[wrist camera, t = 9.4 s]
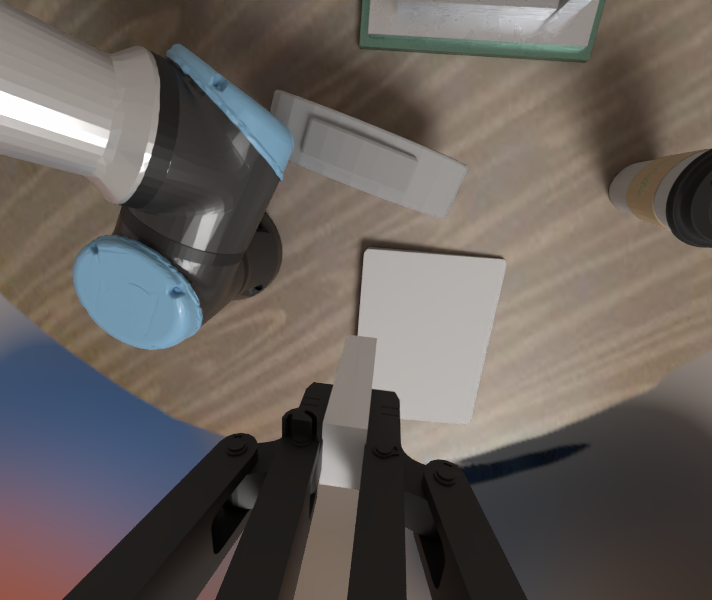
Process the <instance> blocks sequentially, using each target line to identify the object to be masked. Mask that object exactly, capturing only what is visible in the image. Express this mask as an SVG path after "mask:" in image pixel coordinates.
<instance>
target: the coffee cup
mask: <svg viewBox="0 0 712 600" xmlns="http://www.w3.org/2000/svg"><path fill="white" fill-rule="evenodd" d="M609 197H610V200H611V202H612V203H613V205H614V206H615V207H617V208H618V209H620V210H622V211H625V212H627V213H629V214H632V215H634V216H636V217H637V218H639V219H641V220H643V221H645V222H648V223H650V224H653V225H655V226H658V227H660V228H663V229H665V230H668V231H670V232H672V233H673V234H674V235H675V236H676V237H677V238H678V239H679V240H681V241H682V242H684V243H686V244H689V245H692V246H696V247H704V248H705V247H708V248H712V149H704V150H699V151H693V152H687V153H682V154H676V155H670V156H665V157H661V158H658V159H656V160H650V161H644V162H639V163H635V164H632V165H629V166H627V167H626V168H624V169H623V170H622V171H620V172H619V173H618V174H617V176H616V177H615V178H614V179H613V181H612V183H611V185H610V188H609Z"/></svg>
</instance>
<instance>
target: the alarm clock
mask: <svg viewBox="0 0 712 600" xmlns="http://www.w3.org/2000/svg"><path fill="white" fill-rule="evenodd" d="M270 113H272V114H273V115H274V116H275V117H277V118H278V119H279V120H280V121H282V122H283V123H284V124H285V125H286V126H287V127H288V128H289V130H290V131H291V133H292V136H293V141H294V147H293V151H292V154H291V156H290V158H289V161H290V162H293V163H295V164H297V165H300V166H302V167H304V168H307V169H309V170H312V171H314V172H317V173H319V174H321V175H324V176H326V177H329V178H331V179H334V180H336V181H339V182H341V183H344V184H346V185H349V186H351V187H354V188H356V189H359V190H362V191H364V192H367V193H369V194H372V195H375V196H377V197H380V198H383V199H385V200H388V201H391V202H393V203H396V204H399V205H401V206H404V207H407V208H410V209H413V210H416V211H418V212H421V213H424V214H427V215H430V216H434V217H437V218H441V219H445V218H446V216H447V214H448V212H449V209H450V207H451V205H452V203H453V201H454V198H455V196H456V194H457V192H458V190H459V188H460V185H461V183H462V181H463V179H464V177H465V175H466V172H467V170H468V167H467V166H466V165H465V164H463V163H461V162H459V161H457V160H455V159H453V158H450V157H448V156H446V155H444V154H442V153H439V152H437V151H435V150H432V149H430V148H428V147H425V146H423V145H421V144H418V143H416V142H413V141H411V140H409V139H406V138H404V137H402V136H399V135H397V134H394V133H392V132H389V131H387V130H384V129H382V128H379V127H377V126H375V125H372V124H370V123H367V122H365V121H362V120H359V119H357V118H354V117H352V116H349V115H347V114H344V113H342V112H339V111H336V110H334V109H331V108H329V107H326V106H323V105H321V104H318V103H316V102H313V101H310V100H307V99H305V98H302V97H299V96H296V95H293V94H290V93H287V92H284V91H281V90H275V92H274V96H273V100H272V105H271V109H270Z"/></svg>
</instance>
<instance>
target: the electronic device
mask: <svg viewBox="0 0 712 600" xmlns="http://www.w3.org/2000/svg"><path fill="white" fill-rule="evenodd" d="M505 269H506V262H505V260H504V259H500V258H489V257H478V256H467V255H456V254H445V253H433V252H422V251H411V250H400V249H389V248H378V247H368V248H367V249H366V250H365V253H364V260H363V273H362V285H361V298H360V311H359V324H358V336H363V337H372V338H377V344H376V353H375V363H374V373H373V382H372V389H377V390H385V391H393V392H395V393H396V394H397V396H398V398H399V399H400V419H408V420H419V421H431V422H442V423H453V424H465V425H466V424H469V423H470V421H471V417H472V413H473V408H474V404H475V400H476V395H477V391H478V387H479V382H480V378H481V374H482V369H483V365H484V360H485V356H486V352H487V347H488V343H489V339H490V334H491V330H492V326H493V321H494V317H495V313H496V308H497V304H498V300H499V295H500V291H501V287H502V282H503V278H504V274H505Z"/></svg>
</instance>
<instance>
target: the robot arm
mask: <svg viewBox="0 0 712 600" xmlns="http://www.w3.org/2000/svg"><path fill="white" fill-rule="evenodd" d="M166 57H167V59H164V58H162V57H161V56H159V55H157V54H155V53H153V52H151V51H150V50H148V49H146V48H144V47H142V46H133V47H130V48H127V49H124V50H121V51H118V52H115V53H112V54H111V53H106V52H103V51H101V50H99V49H97V48H95V47H93V46H91V45H89V44H87V43H85V42H83V41H81V40H79V39H77V38H75V37H73V36H71V35H69V34H67V33H65V32H63V31H61V30H59V29H57V28H55V27H53V26H51V25H49V24H48V23H46V22H44V21H42V20H40V19H38V18H36V17H34V16H32V15H30V14H28V13H26V12H24V11H22V10H20V9H18V8H16V7H14V6H12V5H10V4H8V3H6V2H4V1H2V0H0V154H2V155H6V156H10V157H14V158H18V159H22V160H25V161H29V162H33V163H37V164H41V165H45V166H48V167H52V168H56V169H60V170H64V171H67V172H71V173H75V174H79V175H83V176H85V177H87V178H88V179H89V180H90V181H91V182H92V183H93V184H94V186H95V187H96V188H97V189H98V191H99V192H100V193H101V194H102V195H103V197H104V198H105V199H106V200H107V201H108V202H111V203H113V204H117V205H122V207H121V211H120V214H119V217H118V220H117V223H116V226H115V229H114V232H113V233H112V235H105V236H100V237H98V238H96V239H95V240H93V241H92V242H91V243H89V244H87V245H86V246H84V247H83V248H82V249H81V250H80V252H79V253H78V255H77V256H76V258H75V261H74V264H73V283H74V288H75V291H76V294H77V296H78V298H79V300H80V302H81V304H82V306H84V307H85V309H86V310H87V311H88V313H89V315H90V317H91V318H92V319H93V320H94V321H95V322H96V324H98V325H99V326H100V327H101V328H102V329H103V330H104V331H106V332H107V333H108V334H110V335H111V336H113V337H114V338H116V339H118V340H120V341H122V342H124V343H126V344H128V345H131V346H134V347H138V348H142V349H151V350H155V349H162V348H169V347H172V346H174V345H176V344H178V343H180V342H181V341H183V340H184V339H186V338H188V337H190V336H192V335H194V334H195V333H196V332H197V330H199V329H200V327H201V326H202V325H204V324H205V323H206V322H207V321H208V320H209V319H211V318H212V317H213V316H214V315H215V314H217V313H218V312H219V311H220V310H221V309H222V308H224V307H225V306H226V305H227V304H228V303H229V302H231V301H233V300H241V299H246V298H249V297H252V296H254V295H256V294H258V293H260V292H261V291H263V290H264V289H265V288H266V287H267V286H268V285H269V284H270V283H271V282H272V281H273V280H274V278H275V277H276V275H277V273H278V271H279V269H280V266H281V261H282V244H281V240H280V236H279V233H278V231H277V229H276V227H275V225H274V223H273V222H272V220H271V219H270V218H269V216H268V215H267V214H266V213H265V211H266V208H267V206H268V204H269V202H270V200H271V198H272V196H273V194H274V192H275V189H276V187H277V185H278V183H279V181H282V180H283V177H284V175H283V173H284V170H285V168H286V165H287V163H288V161H289V158H290V156H291V154H292V151H293V147H294V141H293V136H292V133H291V131H290V130H289V128H288V127H287V126H286V125H285V124H284V123H283V122H282V121H280V120H279V119H278V118H277V117H275V116H274V115H273V114H272V113H270V112H269V111H268V110H266V109H265V108H264V107H263V106H261V105H260V104H259V103H257V102H256V101H255V100H254V99H252V98H251V97H250V96H248V95H247V94H246V93H244V92H243V91H242V90H241V89H239V88H238V87H237V86H235V85H234V84H233V83H231V82H230V81H228V80H227V79H226V78H225V77H224V76H222V75H221V74H219V73H218V72H217V71H215V70H214V69H213V68H212V67H211V66H209V65H208V64H207V63H205V62H204V61H203V60H201V59H200V58H199V57H197V56H196V55H195V54H193V53H192V52H191V51H189V50H188V49H187V48H185V47H184V46H182V45H181V44H174V45H173V46H172V47H171V49H170V50H167V52H166ZM376 344H377V338H372V337H363V336H355V335H347V338H346V342H345V345H344V349H343V353H342V356H341V360H340V363H339V367H338V370H337V374H336V378H335V381H334V385H331V384H323V383H316V382H313V383H312V384H311V385H310V386H309V387H308V388H307V389H306V391H305V393H304V396H303V398H302V401H301V404H300V406H299V408H295V409H291V410H290V411H288V412H286V413H285V415H284V416H283V417H282V438H280V439H278V440H275V441H271V442H265V443H257V441H256V439H255V438H254V437H253V436H251V435H249V434H245V433H238V434H232V435H230V436H227V437H226V438H224V439H223V440H221V441H220V442H219V443H218V444H217V445H216V446H215V447H214V448H213V449H212V450H211V451H210V453H208V454H207V455H206V456H205V457H204V458H203V459H202V460H201V461H200V462H199V463H198V464H197V465H196V466H195V467H194V468H193V469H192V470H191V471H190V472H189V473H188V474H187V475H186V476H185V477H184V478H183V479H182V480H181V481H180V482H179V483H178V484H177V485H176V486H175V487H174V488H173V489H172V490H171V491H170V492H169V493H168V494H167V495H166V496H165V497H164V498H163V499H162V500H161V501H160V502H159V503H158V504H157V505H156V506H155V507H154V508H153V509H152V510H151V511H150V512H149V513H148V514H147V515H146V516H145V517H144V518H143V519H142V520H141V521H140V522H139V523H138V524H137V525H136V527H134V528H133V529H132V530H131V531H130V532H129V534H128V535H126V536H125V537H124V538H123V539H122V540H121V541H120V542H119V543H118V544H117V545H116V546H115V547H114V549H112V551H110V552H109V554H107V555H106V556H105V557H104V558H103V560H102V561H100V562H99V563H98V564H97V565H96V566H95V567H94V568H93V569H92V570H91V571H90V572H89V573H88V574H87V576H85V577H84V578H83V579H82V580H81V581H80V582H79V583H78V584H77V585H76V586H75V587H74V588H73V590H72V591H71V592H69V594H67V595H66V596H65V597H64V598H63V600H196V598H197V597H198V596H199V594H200V593H201V591H202V590H203V588H204V587H205V585H206V584H207V582H208V581H209V580H210V578H211V577H212V575H213V574H214V572H215V571H216V569H217V568H218V566H219V565H220V564H221V562H222V560H223V559H224V558H225V556H226V555H227V553H228V552H229V550H230V549H231V547H232V546H233V545H234V543H235V542H236V540H237V539H238V537H239V536H240V534H241V533H242V531H243V530H244V531H243V533H242V536H241V538H240V541H239V543H238V546H237V548H236V550H235V553H234V555H233V558H232V560H231V563H230V565H229V567H228V570H227V572H226V575H225V577H224V580H223V582H222V585H221V587H220V589H219V592H218V594H217V597H216V599H215V600H293V599H294V595H295V590H296V586H297V582H298V577H299V573H300V569H301V564H302V560H303V555H304V551H305V547H306V543H307V538H308V534H309V530H310V525H311V521H312V517H313V513H314V508H315V504H316V500H317V487H318V483H319V479H320V484H324V485H330V486H337V487H344V488H351V489H358V490H359V500H358V508H357V516H356V525H355V534H354V543H353V552H352V561H351V570H350V578H349V588H348V596H347V600H407V598H406V558H405V527H406V528H408V529H410V530H412V531H413V534H414V538H415V542H416V545H417V549H418V552H419V555H420V559H421V562H422V566H423V569H424V573H425V576H426V580H427V583H428V587H429V590H430V594H431V597H432V600H527V598H526V596H525V594H524V592H523V590H522V588H521V586H520V584H519V582H518V580H517V578H516V576H515V574H514V572H513V570H512V568H511V566H510V564H509V562H508V560H507V558H506V556H505V554H504V552H503V550H502V548H501V546H500V544H499V542H498V540H497V538H496V536H495V534H494V532H493V530H492V528H491V526H490V524H489V522H488V520H487V518H486V516H485V514H484V512H483V510H482V508H481V507H480V504H479V502H478V500H477V498H476V496H475V494H474V492H473V490H472V488H471V486H470V484H469V482H468V480H467V478H466V476H465V475H464V473H463V472H462V470H461V469H460V468H459V467H457V466H456V465H455V464H453V463H451V462H449V461H446V460H433V461H430V462H429V463H428V464H427V465H424V464H421V463H419V462H417V461H415V460H413V459H411V458H410V457H409V456H407V454H406V453H405V452H404V451H403V449H402V447H401V435H400V399H399V398H398V396H397V394H396V393H395V392H393V391H385V390H377V389H372V382H373V373H374V363H375V353H376Z"/></svg>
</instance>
